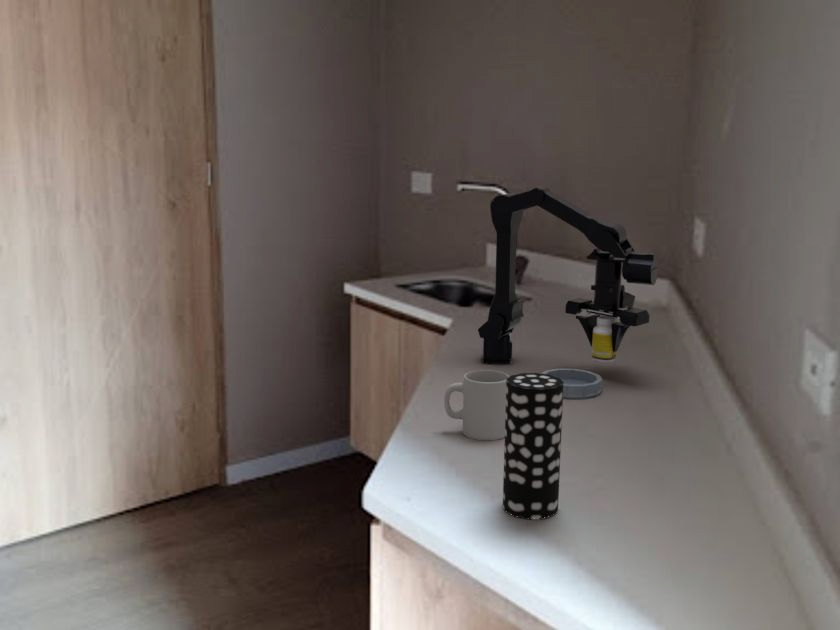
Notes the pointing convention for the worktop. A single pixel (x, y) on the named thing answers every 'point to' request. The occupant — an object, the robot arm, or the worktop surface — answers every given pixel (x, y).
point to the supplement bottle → (603, 340)
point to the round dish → (578, 383)
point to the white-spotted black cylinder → (532, 444)
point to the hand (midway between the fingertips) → (604, 349)
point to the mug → (481, 404)
